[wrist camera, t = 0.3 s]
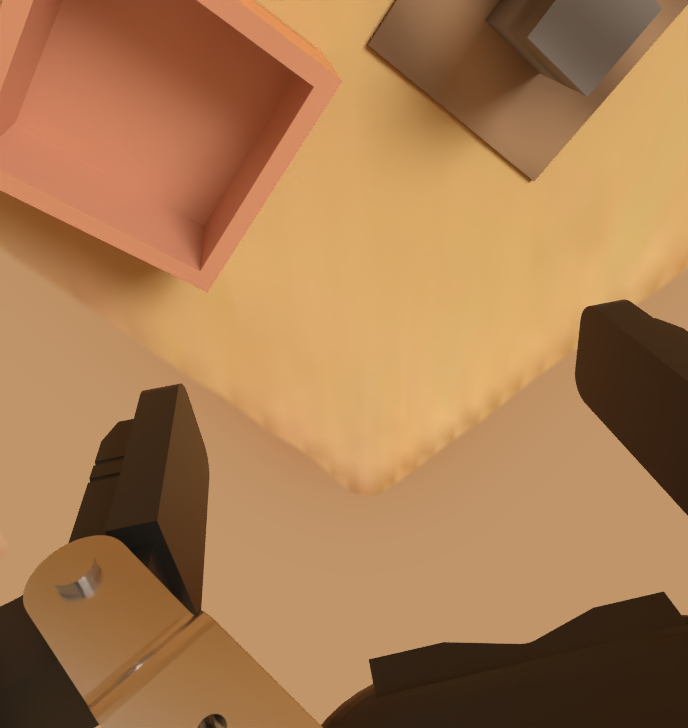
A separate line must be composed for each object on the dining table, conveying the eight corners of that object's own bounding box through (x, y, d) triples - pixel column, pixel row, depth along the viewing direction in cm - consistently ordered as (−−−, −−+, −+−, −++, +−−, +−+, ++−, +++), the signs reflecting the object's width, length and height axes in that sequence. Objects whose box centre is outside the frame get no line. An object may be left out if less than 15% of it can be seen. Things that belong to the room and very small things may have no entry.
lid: (546, -244, 22) (626, -286, 18) (704, -29, 28) (795, -20, 23) (365, 42, 28) (390, 66, 23) (528, 176, 33) (575, 217, 28)
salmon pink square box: (90, -129, 22) (50, -143, 17) (323, 53, 27) (342, 80, 22) (-3, 122, 27) (-53, 164, 22) (211, 237, 32) (207, 292, 27)
